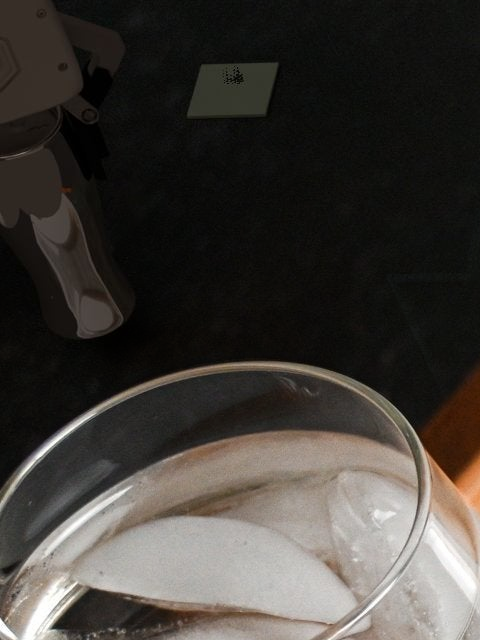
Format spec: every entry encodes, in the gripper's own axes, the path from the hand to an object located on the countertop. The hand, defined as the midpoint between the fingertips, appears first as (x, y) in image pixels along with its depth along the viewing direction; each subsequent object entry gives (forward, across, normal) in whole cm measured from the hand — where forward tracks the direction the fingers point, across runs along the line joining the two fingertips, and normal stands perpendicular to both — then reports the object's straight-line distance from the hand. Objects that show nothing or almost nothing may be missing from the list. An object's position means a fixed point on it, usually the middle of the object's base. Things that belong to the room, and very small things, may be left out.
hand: (36, 185), depth 120 cm
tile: (+14, +16, +22) cm, 30 cm away
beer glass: (+10, 0, 0) cm, 10 cm away
